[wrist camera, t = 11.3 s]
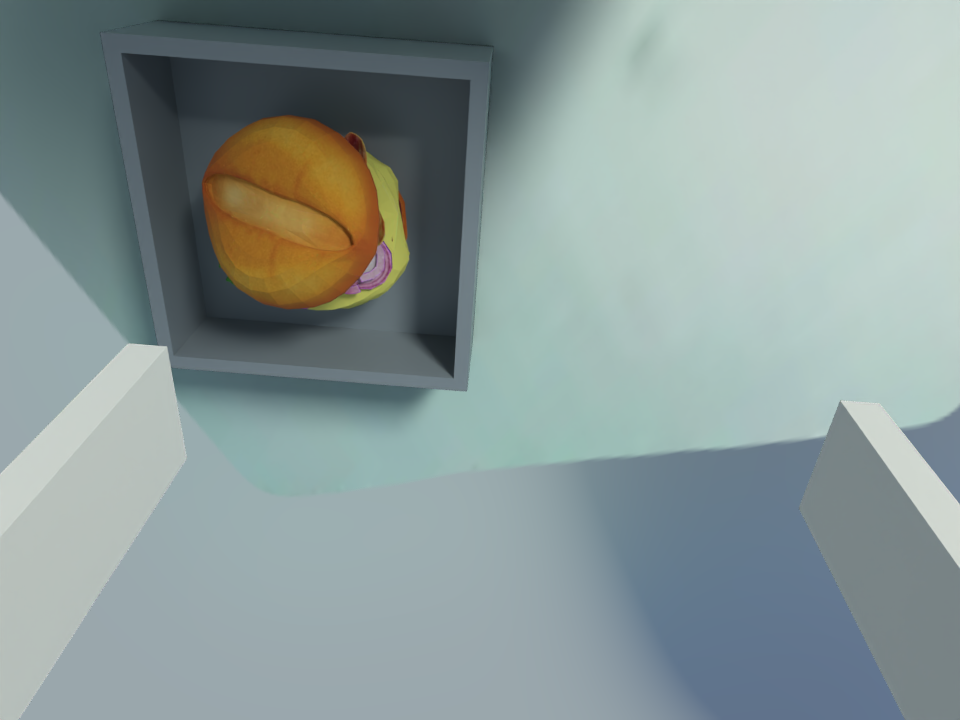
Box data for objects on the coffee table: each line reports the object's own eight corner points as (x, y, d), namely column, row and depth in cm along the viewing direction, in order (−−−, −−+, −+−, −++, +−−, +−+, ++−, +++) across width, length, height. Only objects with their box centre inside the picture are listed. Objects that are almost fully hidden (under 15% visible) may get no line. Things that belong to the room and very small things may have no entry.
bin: (157, 20, 37) (99, 32, 32) (493, 46, 37) (489, 62, 32) (201, 319, 46) (161, 367, 41) (472, 341, 46) (467, 391, 41)
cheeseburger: (284, 318, 44) (206, 365, 35) (228, 144, 42) (127, 144, 32) (438, 283, 43) (401, 322, 33) (390, 99, 40) (334, 85, 30)
